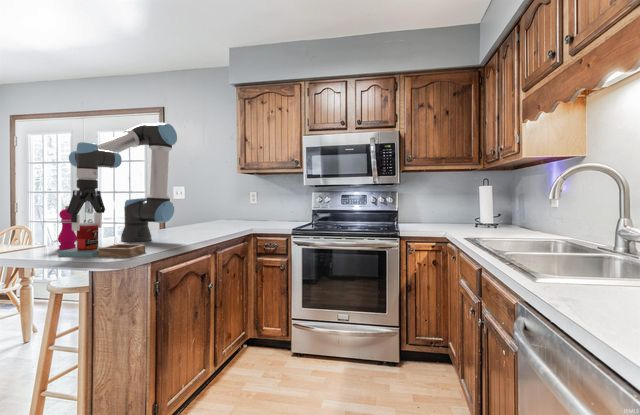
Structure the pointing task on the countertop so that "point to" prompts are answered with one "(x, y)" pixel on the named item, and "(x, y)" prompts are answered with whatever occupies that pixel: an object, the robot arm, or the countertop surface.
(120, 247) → the collar
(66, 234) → the pepper mill
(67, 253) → the plate
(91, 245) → the canned food
